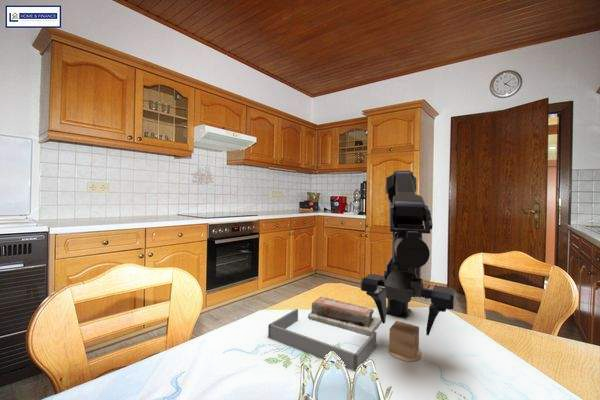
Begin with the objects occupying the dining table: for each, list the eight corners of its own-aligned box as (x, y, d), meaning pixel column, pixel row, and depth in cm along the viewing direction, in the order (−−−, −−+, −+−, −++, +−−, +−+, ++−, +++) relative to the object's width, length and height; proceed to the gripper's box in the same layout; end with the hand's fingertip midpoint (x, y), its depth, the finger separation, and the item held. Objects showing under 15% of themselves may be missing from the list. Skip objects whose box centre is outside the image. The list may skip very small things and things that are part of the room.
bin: (296, 319, 76) (296, 308, 76) (376, 345, 64) (376, 332, 64) (268, 337, 67) (268, 324, 67) (356, 371, 54) (356, 355, 54)
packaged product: (306, 302, 77) (322, 292, 86) (306, 320, 77) (322, 308, 86) (371, 318, 68) (382, 305, 77) (371, 338, 68) (382, 323, 77)
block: (395, 342, 65) (396, 320, 65) (418, 349, 62) (419, 326, 62) (388, 351, 61) (389, 328, 61) (413, 359, 58) (413, 335, 58)
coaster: (392, 340, 66) (392, 338, 66) (424, 350, 62) (424, 348, 62) (383, 354, 61) (383, 352, 61) (417, 365, 57) (417, 363, 57)
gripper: (351, 257, 60) (349, 330, 60) (451, 272, 49) (448, 361, 49) (370, 249, 69) (368, 313, 69) (457, 261, 58) (455, 335, 59)
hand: (404, 328), depth 61 cm, fingers open, 9 cm apart
